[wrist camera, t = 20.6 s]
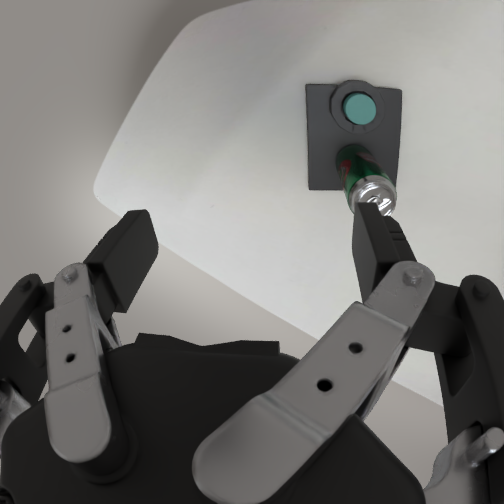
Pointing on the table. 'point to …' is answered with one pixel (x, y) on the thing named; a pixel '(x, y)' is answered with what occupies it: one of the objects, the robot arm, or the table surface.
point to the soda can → (365, 179)
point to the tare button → (359, 108)
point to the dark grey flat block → (350, 130)
